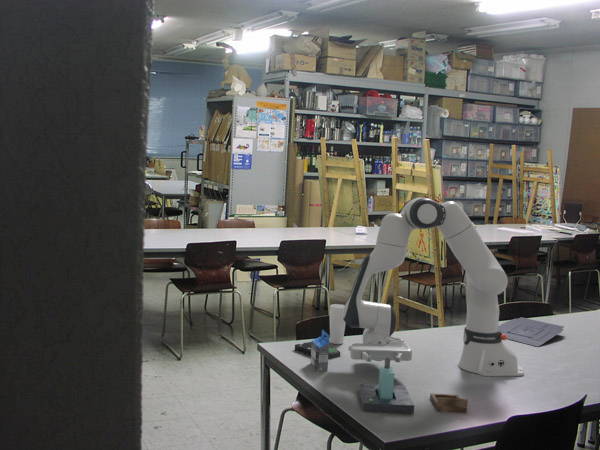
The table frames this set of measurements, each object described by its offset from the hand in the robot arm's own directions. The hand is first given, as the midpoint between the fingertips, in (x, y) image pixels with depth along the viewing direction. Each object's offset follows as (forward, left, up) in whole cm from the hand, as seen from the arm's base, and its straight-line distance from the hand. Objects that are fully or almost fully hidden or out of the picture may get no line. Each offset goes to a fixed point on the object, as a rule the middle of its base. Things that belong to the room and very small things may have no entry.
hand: (383, 359), depth 201 cm
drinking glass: (+12, -48, -9) cm, 50 cm away
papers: (-74, -75, -9) cm, 106 cm away
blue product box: (+20, -16, -9) cm, 27 cm away
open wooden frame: (-18, +14, -9) cm, 24 cm away
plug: (+1, +14, -9) cm, 16 cm away
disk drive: (+20, -33, -10) cm, 39 cm away
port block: (+1, +14, -9) cm, 16 cm away
